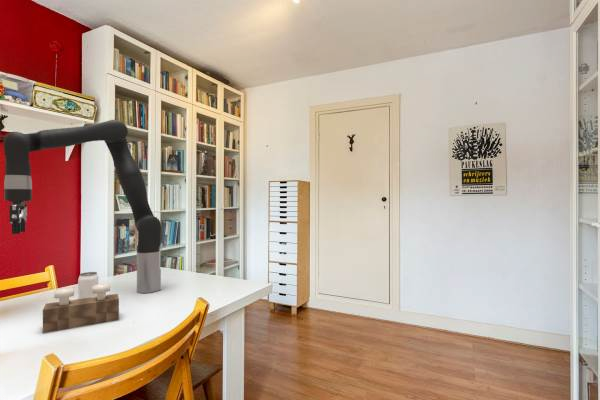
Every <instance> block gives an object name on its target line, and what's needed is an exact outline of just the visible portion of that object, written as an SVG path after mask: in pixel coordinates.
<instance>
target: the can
mask: <svg viewBox="0 0 600 400" xmlns="http://www.w3.org/2000/svg"><path fill="white" fill-rule="evenodd" d="M96 284H99V275H98V272H97V271H88V272H82V273H80V274H79V277H78V280H77V299H83V298H90V297H97V293H92V286H93V285H96Z"/></svg>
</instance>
